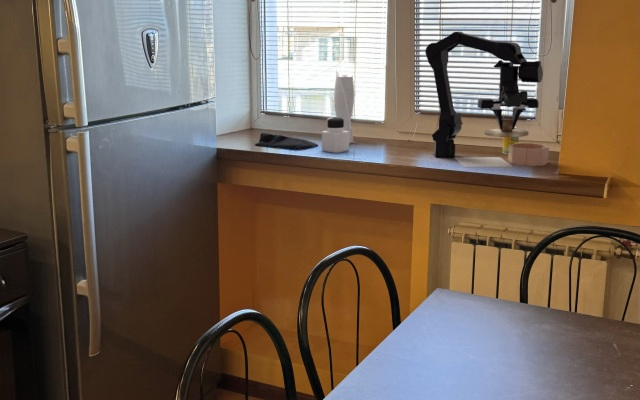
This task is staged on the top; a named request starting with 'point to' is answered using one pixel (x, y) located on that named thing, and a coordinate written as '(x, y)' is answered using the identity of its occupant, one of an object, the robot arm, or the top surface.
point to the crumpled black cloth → (283, 142)
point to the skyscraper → (344, 100)
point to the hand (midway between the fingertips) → (506, 129)
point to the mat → (482, 162)
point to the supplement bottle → (509, 142)
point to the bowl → (528, 154)
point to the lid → (506, 130)
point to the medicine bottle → (335, 136)
